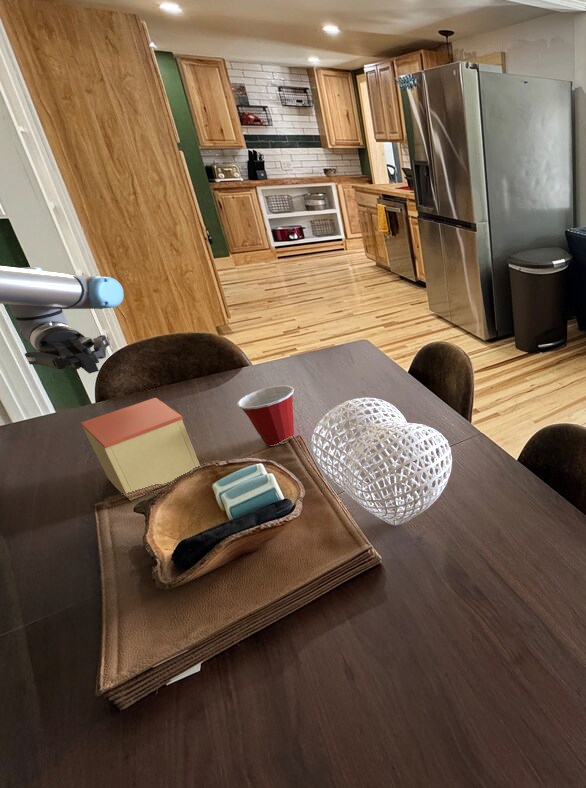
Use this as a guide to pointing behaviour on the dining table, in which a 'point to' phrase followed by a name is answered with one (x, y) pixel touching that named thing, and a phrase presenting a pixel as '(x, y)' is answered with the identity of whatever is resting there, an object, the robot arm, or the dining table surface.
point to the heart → (382, 459)
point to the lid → (130, 422)
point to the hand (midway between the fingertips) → (91, 366)
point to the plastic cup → (270, 412)
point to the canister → (147, 458)
